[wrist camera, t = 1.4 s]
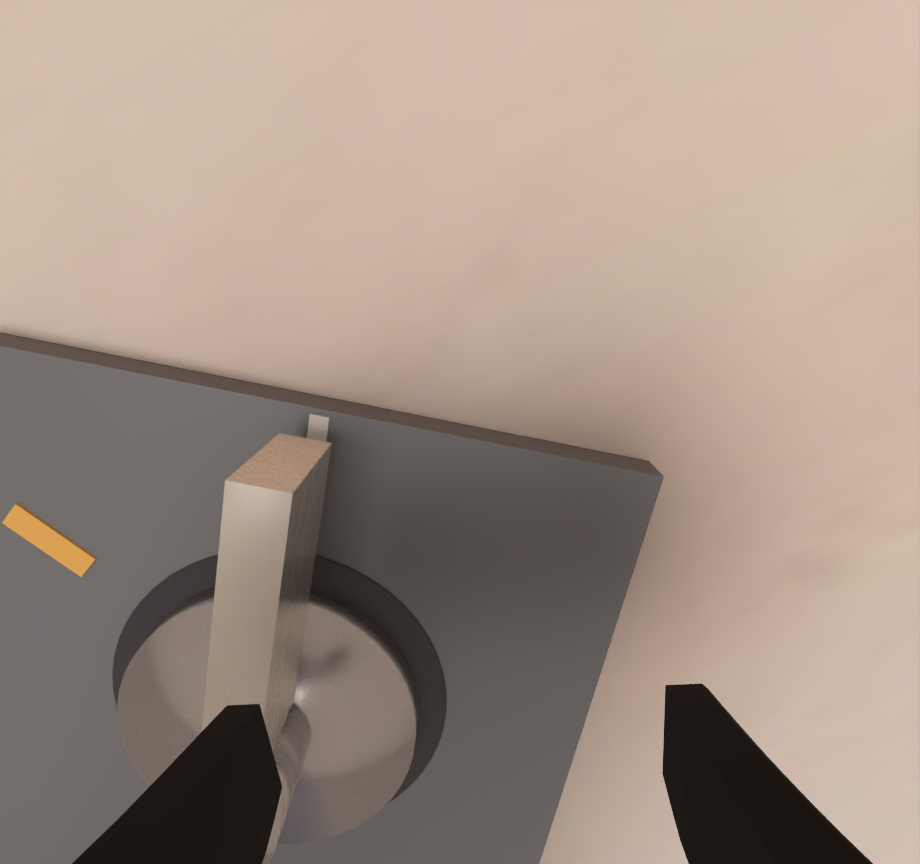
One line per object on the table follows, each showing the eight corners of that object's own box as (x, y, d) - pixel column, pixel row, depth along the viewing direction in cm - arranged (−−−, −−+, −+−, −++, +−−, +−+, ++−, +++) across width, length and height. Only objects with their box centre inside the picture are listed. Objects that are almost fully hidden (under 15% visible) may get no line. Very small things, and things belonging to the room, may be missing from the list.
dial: (392, 834, 22) (372, 992, 17) (130, 792, 21) (33, 942, 16) (476, 459, 17) (480, 528, 13) (150, 395, 17) (29, 443, 12)
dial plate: (507, 915, 25) (510, 957, 24) (9, 837, 24) (-22, 875, 23) (648, 461, 19) (664, 477, 18) (-3, 332, 18) (-45, 338, 17)
